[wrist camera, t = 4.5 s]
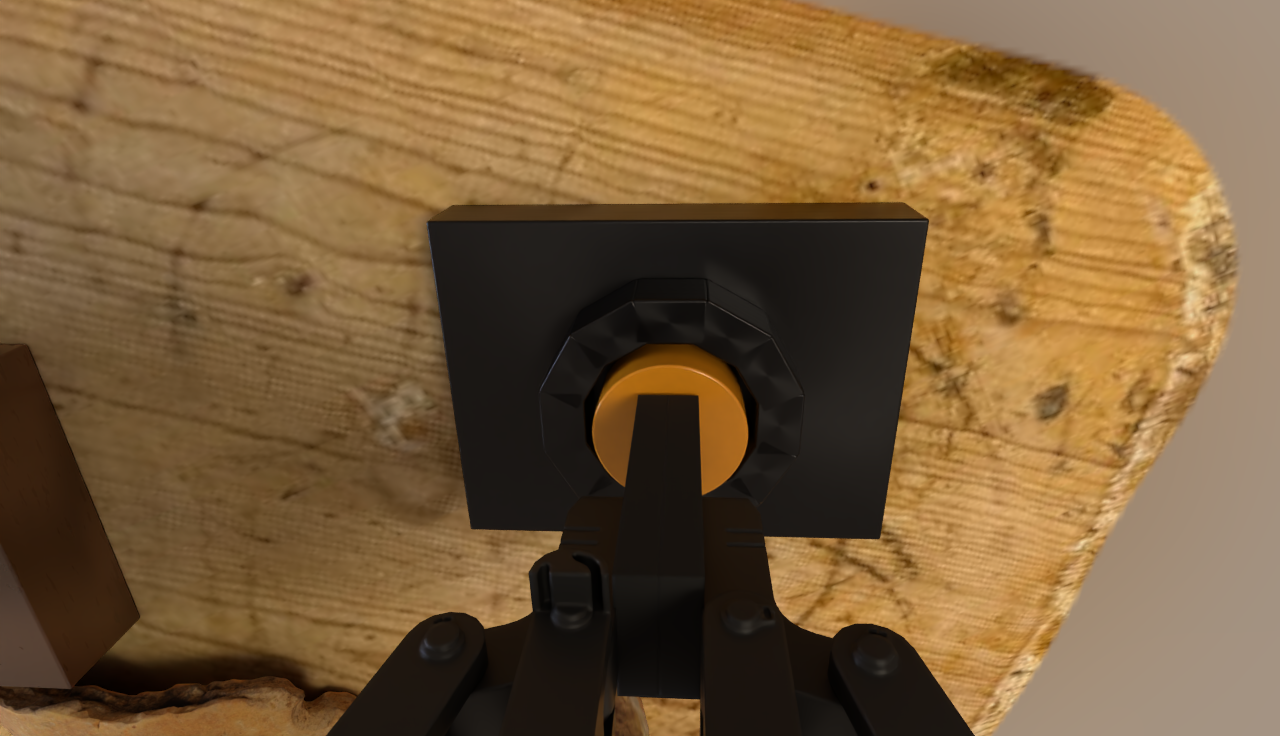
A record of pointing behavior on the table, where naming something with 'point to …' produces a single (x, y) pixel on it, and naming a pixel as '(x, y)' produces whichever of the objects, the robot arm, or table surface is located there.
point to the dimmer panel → (49, 545)
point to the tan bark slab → (173, 710)
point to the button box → (680, 314)
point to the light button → (673, 375)
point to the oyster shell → (630, 717)
